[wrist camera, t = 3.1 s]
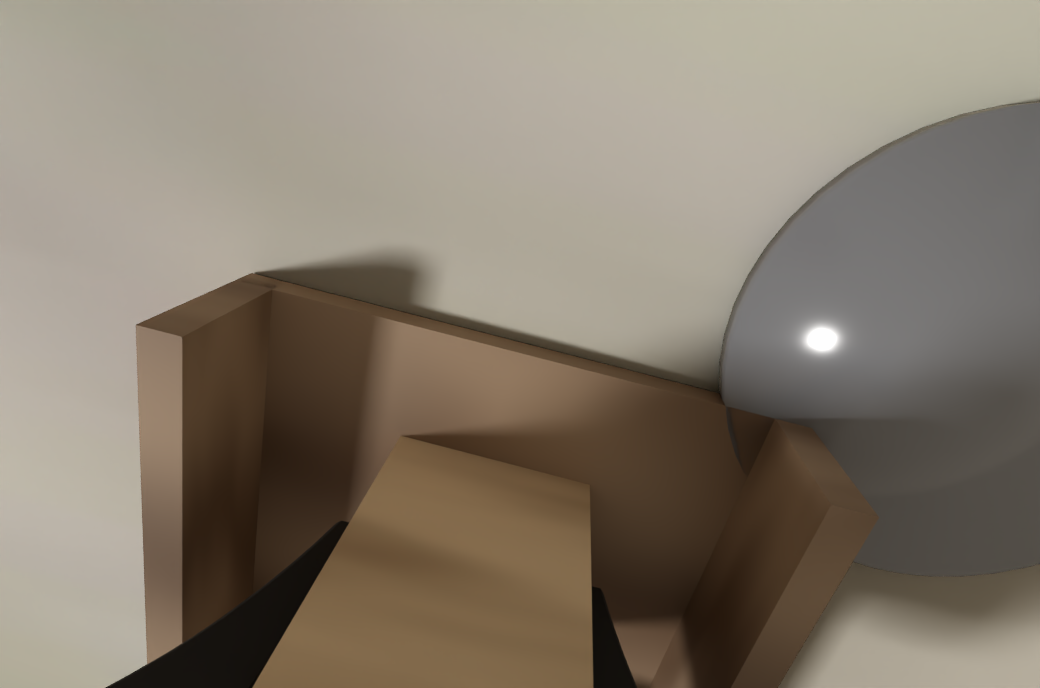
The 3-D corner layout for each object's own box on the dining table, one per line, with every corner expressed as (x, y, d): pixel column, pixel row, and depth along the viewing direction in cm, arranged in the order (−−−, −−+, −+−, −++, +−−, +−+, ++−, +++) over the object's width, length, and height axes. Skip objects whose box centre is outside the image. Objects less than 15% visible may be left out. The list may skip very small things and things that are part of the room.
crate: (657, 710, 16) (675, 858, 13) (235, 599, 16) (149, 716, 13) (801, 414, 12) (879, 517, 9) (251, 273, 13) (135, 325, 9)
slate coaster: (1063, 602, 13) (1084, 623, 13) (657, 496, 14) (660, 512, 13) (1406, 179, 10) (1457, 183, 9) (839, 38, 10) (855, 34, 9)
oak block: (542, 624, 15) (514, 974, 9) (375, 580, 15) (230, 896, 9) (590, 484, 13) (595, 799, 7) (400, 435, 13) (241, 704, 7)
